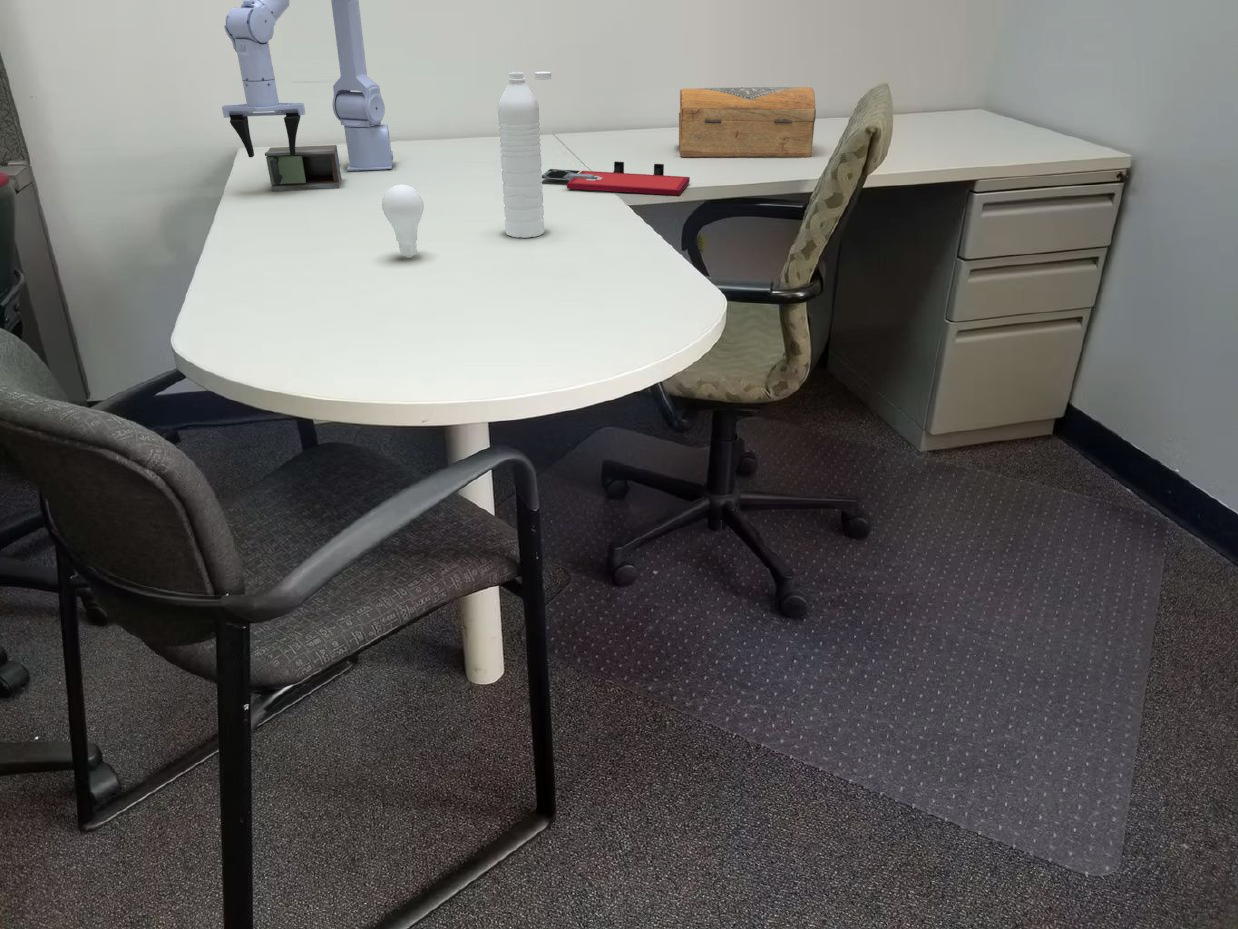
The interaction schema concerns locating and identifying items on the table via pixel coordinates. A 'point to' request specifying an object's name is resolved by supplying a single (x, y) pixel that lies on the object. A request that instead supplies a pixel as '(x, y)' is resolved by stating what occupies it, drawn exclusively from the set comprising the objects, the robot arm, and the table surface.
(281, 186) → the cabinet
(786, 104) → the wooden box
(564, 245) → the table surface
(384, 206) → the lightbulb
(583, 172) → the red board with handle
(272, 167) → the closet door
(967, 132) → the table surface
